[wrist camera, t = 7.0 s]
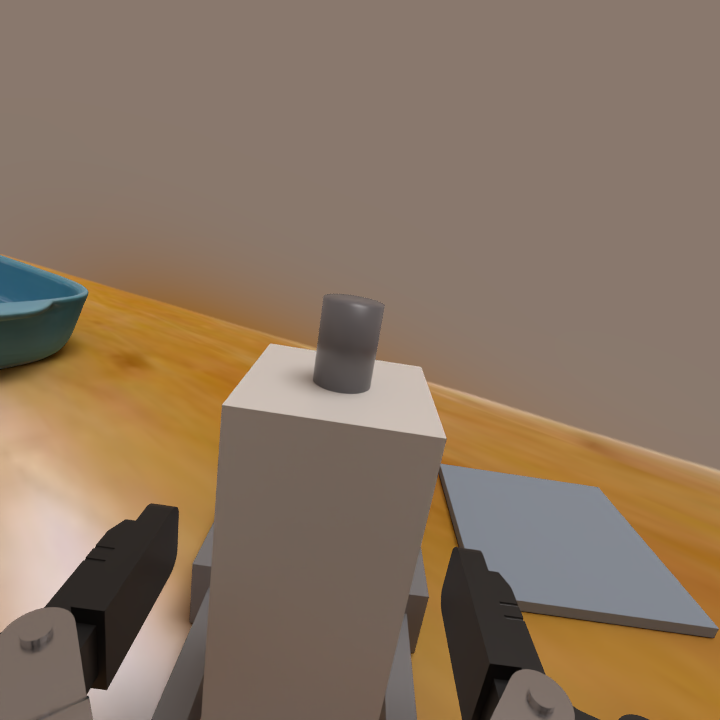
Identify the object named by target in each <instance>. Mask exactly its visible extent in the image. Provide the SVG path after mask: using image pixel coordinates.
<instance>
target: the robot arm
mask: <svg viewBox="0 0 720 720" xmlns="http://www.w3.org/2000/svg"><path fill="white" fill-rule="evenodd" d="M178 519H179V511H178V508H177V507H173V506H166V505H159V504H149V505H148V506H147V507H146V508H145V510H144V511H143V512H142V513H141V515H140V516H139V517H138V519H137V520H136V521H134V520H126V519H125V520H124V521H122V522H121V523H119V524H118V525H116V526H115V527H113V528H111V529H110V530H108V531H107V532H106V534H105V535H104V536H103V537H102V538H101V540H100V541H99V542H98V543H97V545H96V547H95V548H93V549H92V551H91V552H90V553H89V554H88V555H87V557H86V559H85V561H82V563H81V564H80V565H79V566H78V567H77V569H76V570H75V571H74V572H73V574H72V575H71V576H70V577H69V578H68V580H67V581H66V582H65V583H64V584H63V586H62V587H61V588H60V589H59V590H58V592H57V593H56V594H55V595H54V596H53V598H52V599H51V600H50V601H49V603H48V604H47V605H46V606H45V607H44V608H41V609H38V610H34V611H32V612H29V613H27V614H25V615H23V616H21V617H19V618H18V619H16V620H15V621H13V622H12V623H11V624H9V625H8V626H7V627H6V628H5V629H4V630H3V632H1V633H0V720H93V719H92V712H91V706H90V701H89V696H87V693H88V692H89V690H90V688H94V689H102V690H107V689H108V687H109V685H110V683H111V682H112V680H113V678H114V676H115V674H116V672H117V671H118V669H119V667H120V665H121V663H122V662H123V660H124V658H125V656H126V654H127V652H128V651H129V649H130V647H131V645H132V643H133V642H134V640H135V638H136V636H137V634H138V633H139V631H140V629H141V627H142V625H143V623H144V622H145V620H146V618H147V616H148V614H149V613H150V611H151V609H152V607H153V605H154V603H155V602H156V600H157V598H158V596H159V594H160V593H161V591H162V589H163V587H164V585H165V583H166V582H167V580H168V578H169V576H170V574H171V572H172V570H173V567H174V564H175V560H176V556H177V546H178ZM441 610H442V616H443V621H444V627H445V632H446V637H447V642H448V648H449V653H450V658H451V663H452V669H453V674H454V679H455V684H456V690H457V695H458V700H459V705H460V711H461V716H462V720H599V719H597V718H595V717H593V716H590V715H588V714H586V713H584V712H582V711H580V710H578V709H576V708H575V707H573V706H572V703H571V701H570V699H569V698H568V696H567V695H566V693H565V692H564V690H563V689H562V688H561V687H560V686H559V685H558V684H557V683H556V682H555V681H554V680H552V679H551V678H550V677H548V676H546V675H545V672H544V670H543V667H542V665H541V662H540V659H539V657H538V654H537V652H536V649H535V647H534V644H533V642H532V639H531V637H530V634H529V631H528V629H527V626H526V624H525V621H523V616H522V614H521V611H520V608H519V607H518V603H517V601H516V598H515V596H514V593H513V591H512V588H511V587H510V585H509V584H508V583H507V582H506V580H505V579H504V578H503V577H502V576H501V574H500V573H499V572H495V571H489V570H488V567H487V564H486V562H485V559H484V556H483V553H482V552H481V551H480V550H474V549H467V548H460V547H455V548H454V549H453V551H452V554H451V558H450V561H449V565H448V569H447V573H446V576H445V580H444V584H443V588H442V594H441ZM619 720H649V719H646V718H644V717H642V716H638V715H632V714H629V715H624V716H622V717H621V718H619Z"/></svg>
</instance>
